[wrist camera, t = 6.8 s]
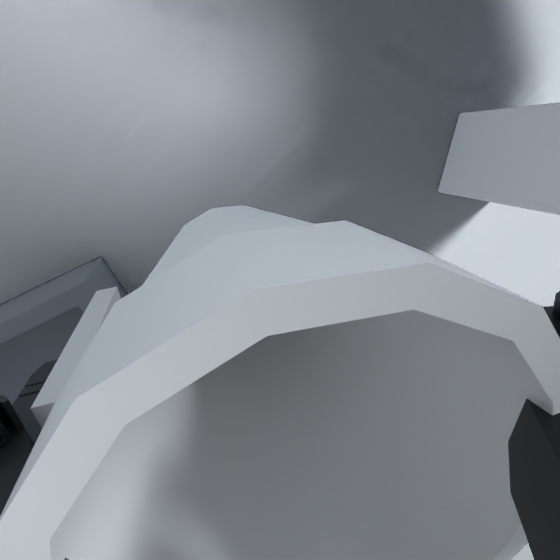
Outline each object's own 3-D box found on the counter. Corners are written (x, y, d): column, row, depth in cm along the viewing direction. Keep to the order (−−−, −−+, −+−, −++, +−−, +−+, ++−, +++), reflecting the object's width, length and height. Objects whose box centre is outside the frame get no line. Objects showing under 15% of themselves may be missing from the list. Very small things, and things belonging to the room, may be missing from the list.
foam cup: (84, 272, 16) (-203, 668, 4) (233, 122, 15) (414, 68, 3) (234, 380, 20) (309, 731, 8) (356, 266, 19) (631, 472, 7)
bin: (-136, 369, 22) (-216, 427, 18) (101, 256, 24) (83, 282, 19) (35, 507, 29) (10, 574, 25) (211, 413, 30) (217, 460, 26)
